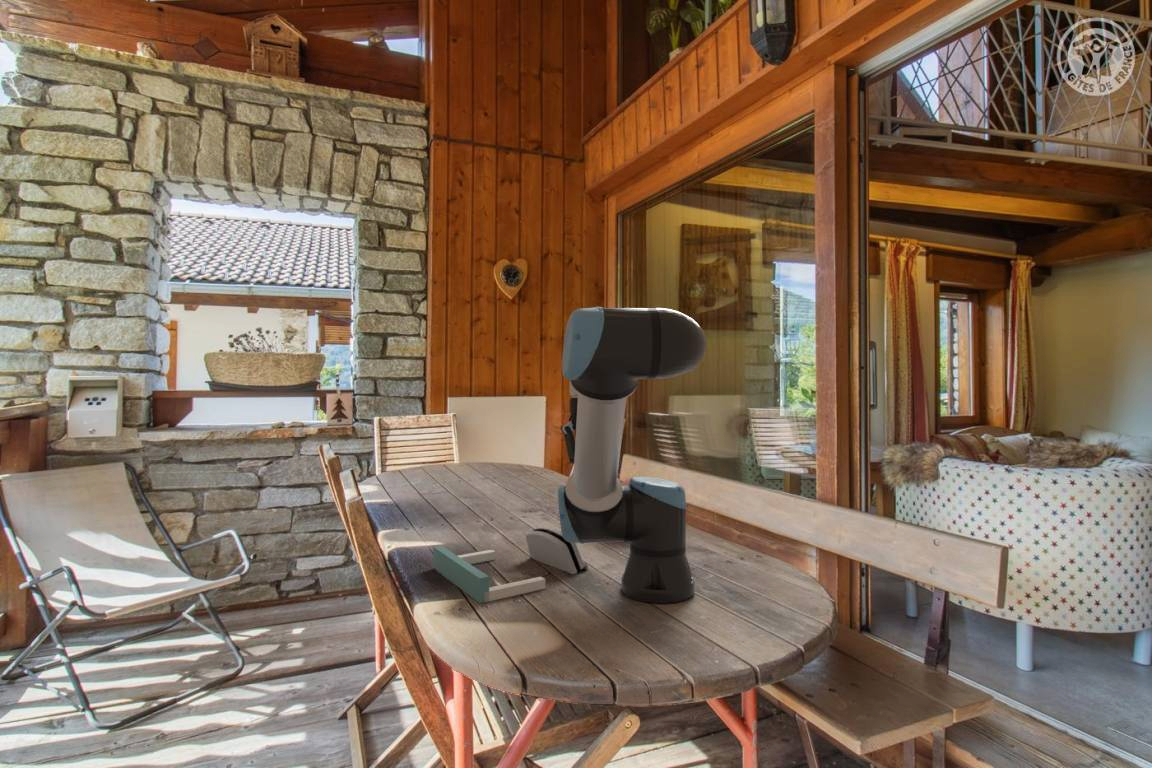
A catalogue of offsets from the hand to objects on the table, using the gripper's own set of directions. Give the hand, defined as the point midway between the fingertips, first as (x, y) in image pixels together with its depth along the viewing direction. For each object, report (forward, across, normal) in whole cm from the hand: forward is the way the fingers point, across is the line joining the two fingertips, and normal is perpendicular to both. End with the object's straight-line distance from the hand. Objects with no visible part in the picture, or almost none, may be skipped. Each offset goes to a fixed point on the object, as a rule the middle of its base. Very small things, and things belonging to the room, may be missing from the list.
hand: (584, 492), depth 148 cm
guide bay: (+16, +26, 0) cm, 31 cm away
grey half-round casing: (+17, +9, 0) cm, 19 cm away
